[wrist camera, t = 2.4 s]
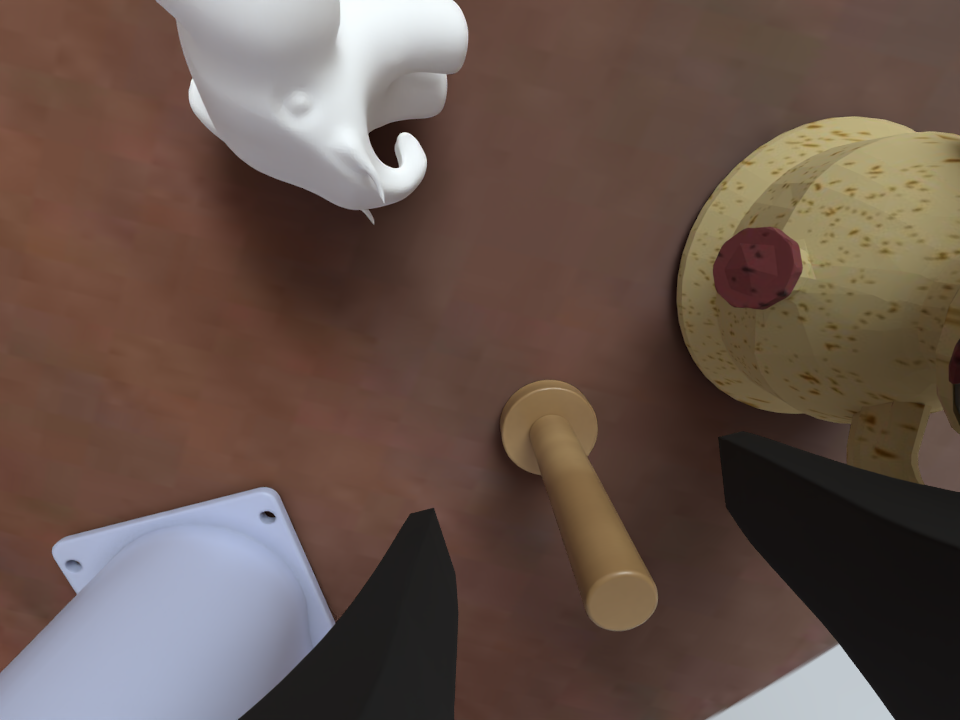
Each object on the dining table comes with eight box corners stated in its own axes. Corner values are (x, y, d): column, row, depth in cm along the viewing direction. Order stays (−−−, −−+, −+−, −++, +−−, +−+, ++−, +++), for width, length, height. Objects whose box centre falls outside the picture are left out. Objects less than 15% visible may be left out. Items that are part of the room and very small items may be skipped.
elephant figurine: (432, 253, 14) (208, 252, 13) (413, -13, 15) (187, -53, 13) (520, 156, 8) (91, 127, 6) (487, -321, 8) (49, -493, 6)
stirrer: (599, 451, 17) (716, 648, 9) (511, 474, 17) (556, 685, 10) (582, 368, 16) (697, 511, 8) (489, 392, 16) (520, 555, 9)
